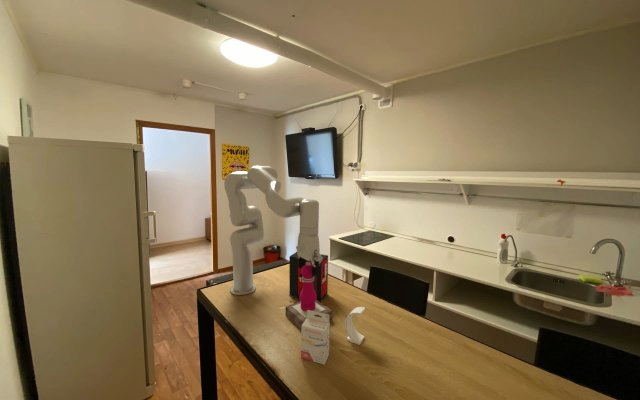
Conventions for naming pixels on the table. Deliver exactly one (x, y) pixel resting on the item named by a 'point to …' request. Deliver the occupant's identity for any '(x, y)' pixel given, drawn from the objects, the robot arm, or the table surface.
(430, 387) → the table surface
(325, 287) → the cleaning product box
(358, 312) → the headphone stand
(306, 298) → the pepper mill
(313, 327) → the ink cartridge box
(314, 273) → the robot arm
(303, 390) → the table surface
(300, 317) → the walnut frame
